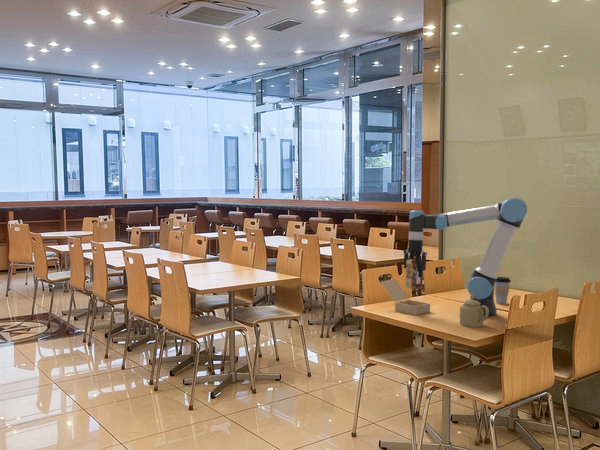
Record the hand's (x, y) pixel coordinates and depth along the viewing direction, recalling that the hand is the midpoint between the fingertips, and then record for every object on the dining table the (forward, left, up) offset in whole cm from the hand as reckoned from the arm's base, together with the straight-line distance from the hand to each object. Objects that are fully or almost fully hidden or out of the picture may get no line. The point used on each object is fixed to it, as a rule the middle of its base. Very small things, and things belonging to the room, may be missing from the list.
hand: (414, 282), depth 304 cm
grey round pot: (-38, +3, -16) cm, 41 cm away
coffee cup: (-21, -61, -16) cm, 66 cm away
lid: (+12, 0, -6) cm, 13 cm away
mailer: (0, 0, -16) cm, 16 cm away
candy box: (0, 0, -3) cm, 3 cm away
